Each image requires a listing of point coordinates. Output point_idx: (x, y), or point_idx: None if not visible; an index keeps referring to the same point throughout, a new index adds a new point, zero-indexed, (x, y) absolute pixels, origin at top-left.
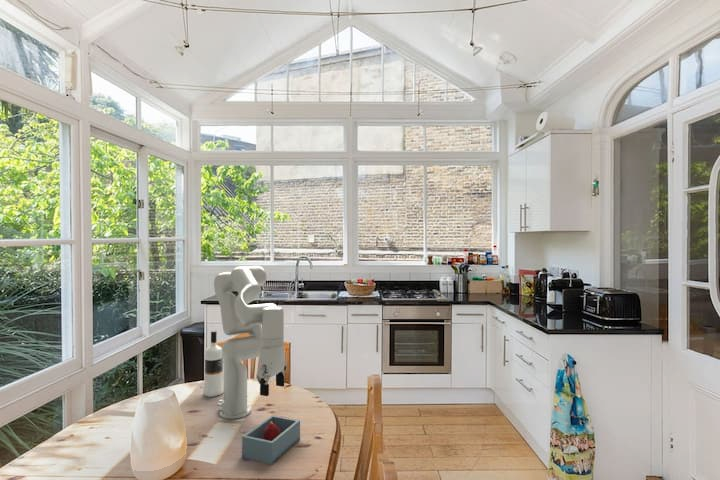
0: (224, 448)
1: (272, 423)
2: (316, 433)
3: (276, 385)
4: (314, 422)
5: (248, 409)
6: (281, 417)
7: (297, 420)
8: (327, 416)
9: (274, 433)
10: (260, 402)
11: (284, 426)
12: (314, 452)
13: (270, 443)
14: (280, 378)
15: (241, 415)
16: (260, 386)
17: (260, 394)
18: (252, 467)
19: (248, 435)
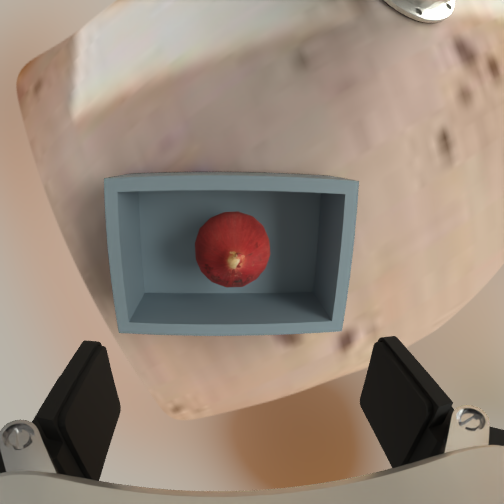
0: (163, 70)
1: (232, 268)
2: (369, 322)
3: (375, 343)
4: (435, 277)
5: (437, 13)
6: (348, 239)
7: (337, 322)
8: (470, 293)
9: (211, 280)
10: (491, 35)
11: (328, 250)
12: (255, 373)
13: (118, 323)
14: (395, 433)
15: (393, 3)
16: (52, 396)
17: (85, 344)
18: (99, 247)
19: (133, 190)
